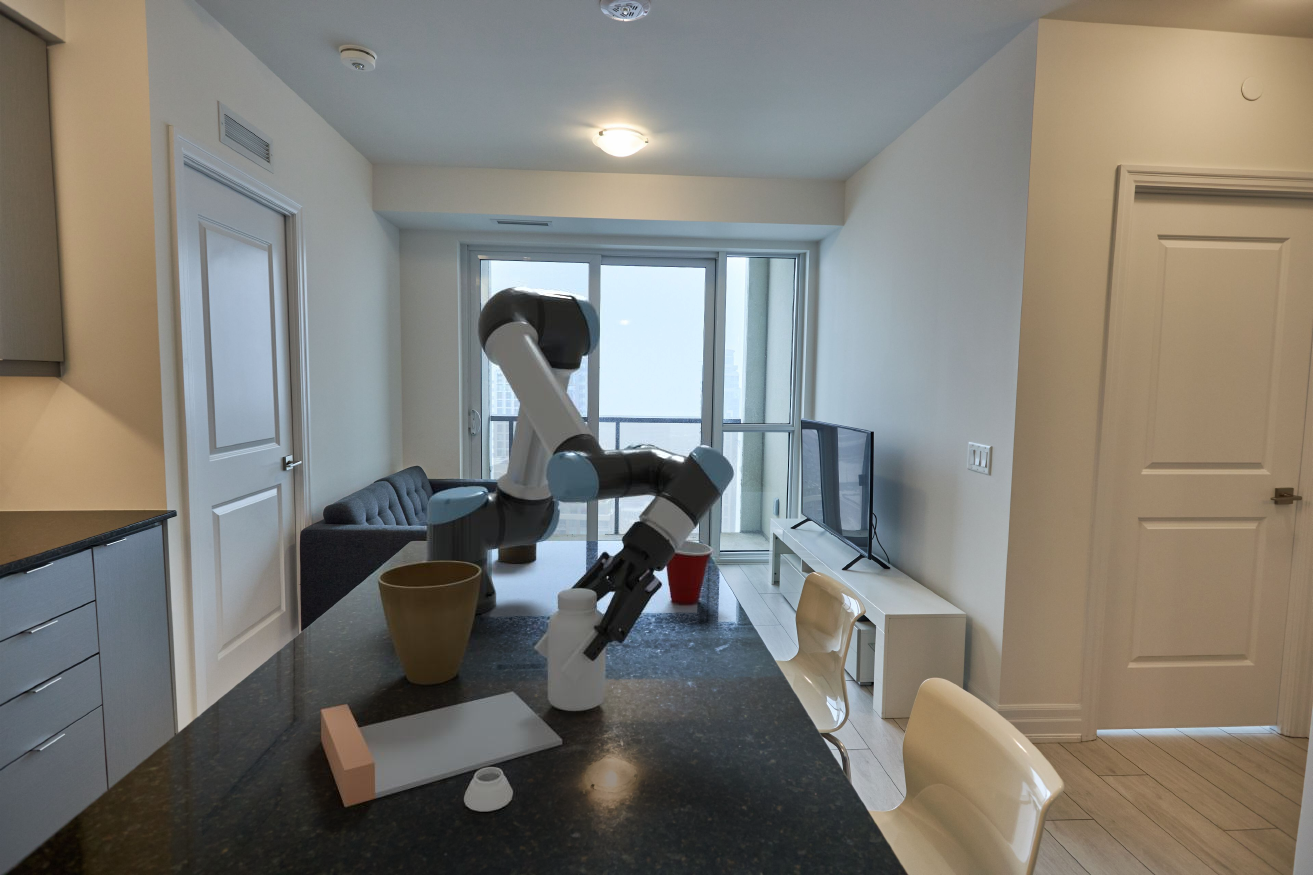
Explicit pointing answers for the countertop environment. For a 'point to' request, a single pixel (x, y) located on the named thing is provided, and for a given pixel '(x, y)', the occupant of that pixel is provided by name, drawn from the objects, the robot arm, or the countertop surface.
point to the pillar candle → (517, 554)
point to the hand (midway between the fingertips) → (554, 664)
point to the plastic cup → (687, 572)
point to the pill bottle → (563, 641)
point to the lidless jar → (488, 790)
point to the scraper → (428, 744)
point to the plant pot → (430, 616)
